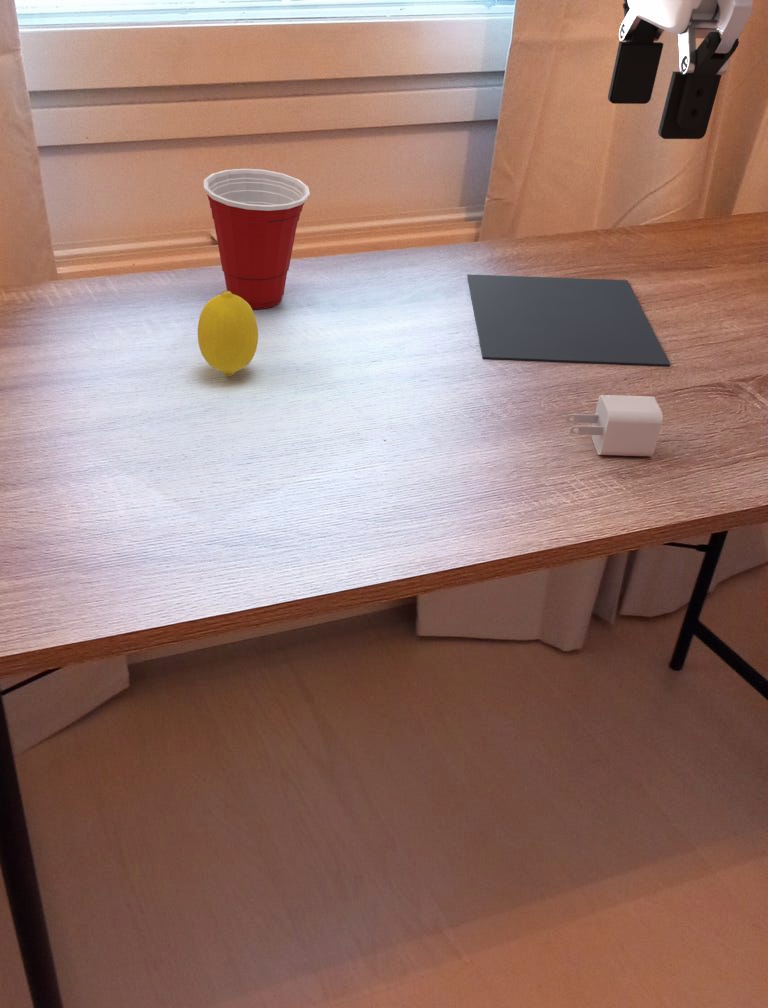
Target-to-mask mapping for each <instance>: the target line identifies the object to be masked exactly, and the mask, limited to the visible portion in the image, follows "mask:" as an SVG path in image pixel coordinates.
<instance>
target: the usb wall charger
mask: <svg viewBox="0 0 768 1008" xmlns="http://www.w3.org/2000/svg"><path fill="white" fill-rule="evenodd" d="M570 417H573V419H572V420H571V419H570ZM565 422H566V423H575V424H592V425H571V427H570V431H569V434H570V435H579V436H582V435H583V436H591V439H592V442H593V445H594V448H595V450H596V453H597V455H598V456H623V457H624V456H625V457H628V456H629V457H653V456H654V453H655V450H656V446H657V443H658V439H659V436H660V431H661V429H662V425H663V411H662V410H661V408H660V406H659V403H658V402H657V400H656V398H655V396H652V395H651V396H645V395H613V394H612V395H611V394H607V395H606V394H600V395H599V396H598V400H597V405H596V409H595V413H594V414H593V413H590V414H589V413H571V414H570V413H569V414H567V415H566V419H565ZM575 429H578V430H577V431H574V430H575Z"/></svg>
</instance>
